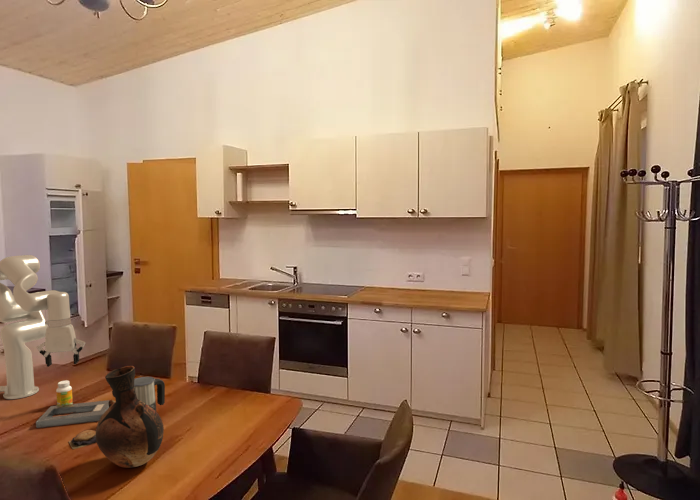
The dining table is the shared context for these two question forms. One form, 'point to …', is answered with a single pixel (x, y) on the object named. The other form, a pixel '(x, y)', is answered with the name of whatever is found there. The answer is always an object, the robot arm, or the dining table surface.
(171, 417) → the dining table surface
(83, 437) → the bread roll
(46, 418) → the grey rectangular frame
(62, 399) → the supplement bottle
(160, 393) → the milk frother
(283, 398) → the dining table surface
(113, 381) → the ceramic vessel
